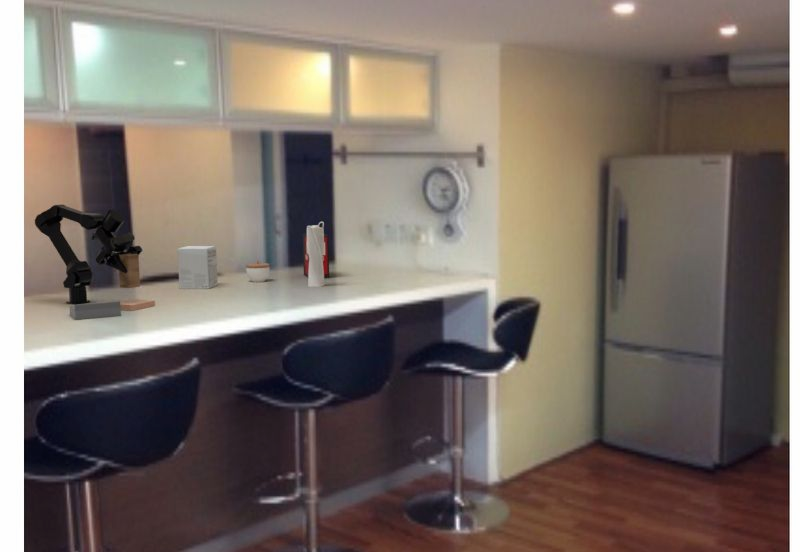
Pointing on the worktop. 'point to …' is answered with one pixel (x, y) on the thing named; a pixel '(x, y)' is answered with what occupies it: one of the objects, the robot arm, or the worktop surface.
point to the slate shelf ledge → (95, 310)
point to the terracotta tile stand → (135, 304)
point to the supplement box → (197, 267)
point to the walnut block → (130, 271)
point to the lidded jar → (258, 271)
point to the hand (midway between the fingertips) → (131, 271)
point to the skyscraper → (315, 255)
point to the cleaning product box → (324, 257)
